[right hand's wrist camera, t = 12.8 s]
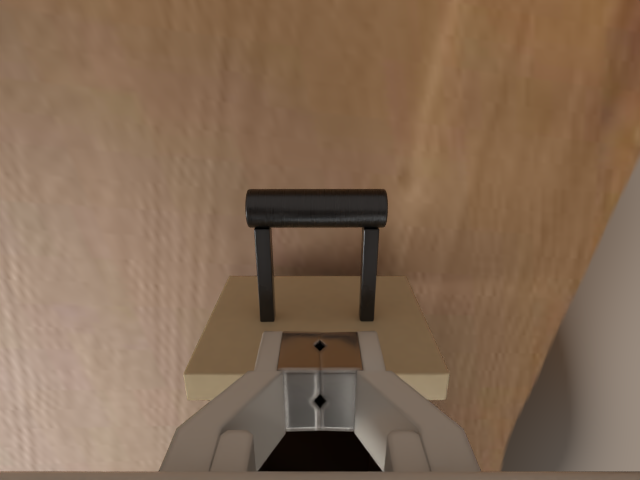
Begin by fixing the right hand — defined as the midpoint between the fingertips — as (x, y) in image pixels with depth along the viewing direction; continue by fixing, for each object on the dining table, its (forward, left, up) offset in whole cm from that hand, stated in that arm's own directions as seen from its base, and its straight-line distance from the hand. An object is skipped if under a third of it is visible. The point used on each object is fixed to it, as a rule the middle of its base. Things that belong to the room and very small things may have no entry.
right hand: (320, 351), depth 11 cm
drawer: (+6, -2, -10) cm, 12 cm away
